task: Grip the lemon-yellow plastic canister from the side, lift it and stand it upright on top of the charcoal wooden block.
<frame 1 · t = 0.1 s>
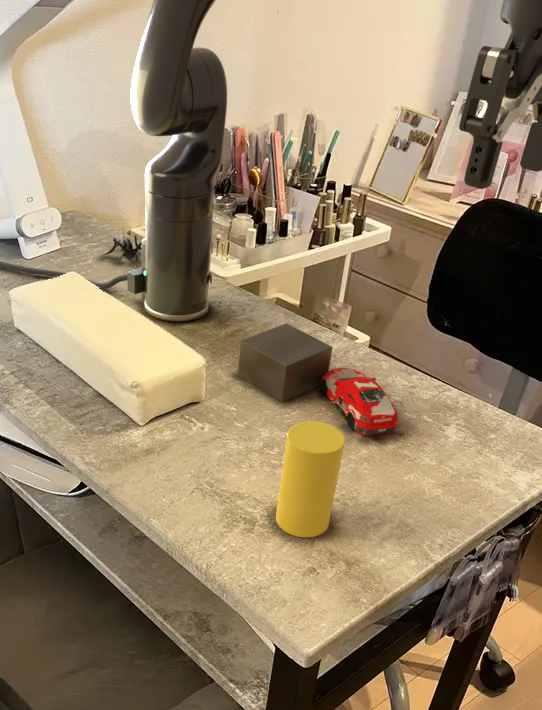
hand: (504, 177, 67), 29 cm above the table, tool pointing down, fingers open, 8 cm apart
block: (282, 379, 97), on the table
creature: (125, 259, 128), on the table
race car: (356, 411, 92), on the table
canister: (302, 520, 76), on the table
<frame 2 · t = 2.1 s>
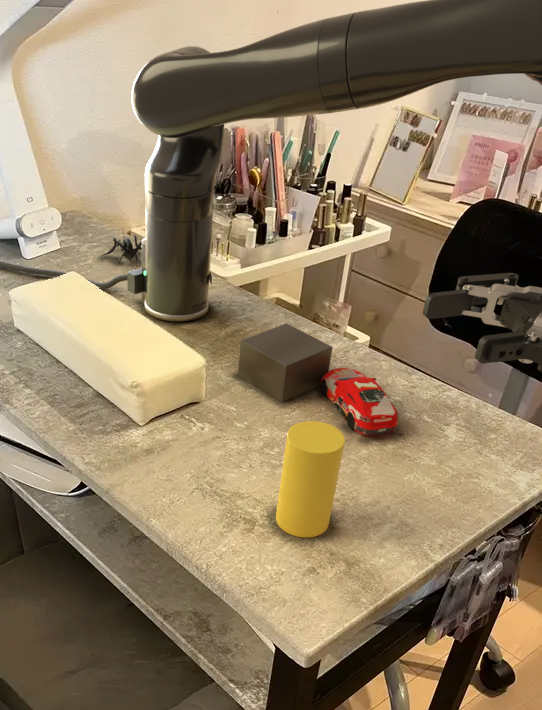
hand: (451, 327, 66), 20 cm above the table, tool horizontal, fingers open, 8 cm apart
nothing on the table moved.
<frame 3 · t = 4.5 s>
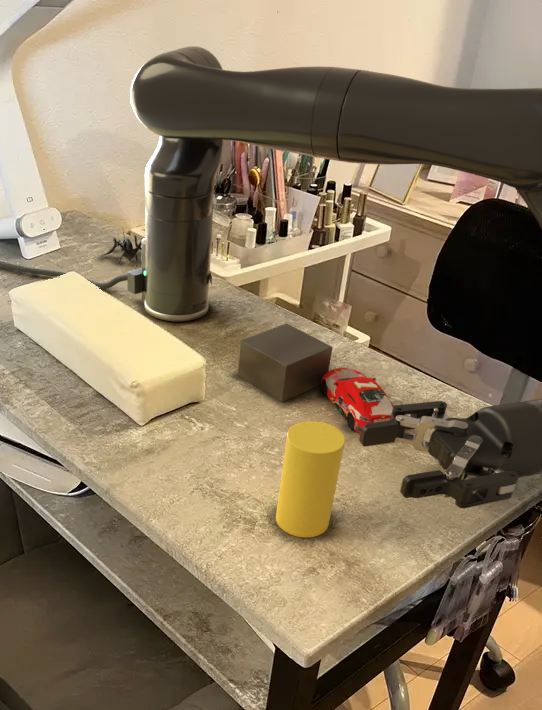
hand: (381, 460, 74), 6 cm above the table, tool horizontal, fingers open, 8 cm apart
nothing on the table moved.
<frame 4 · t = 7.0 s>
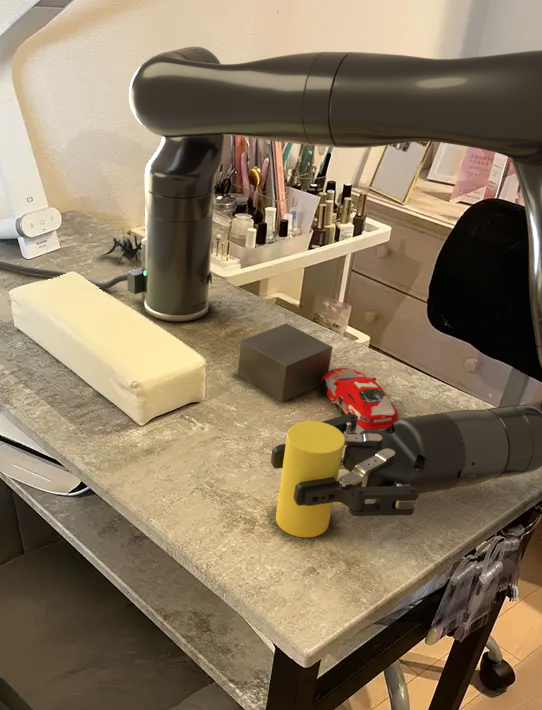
hand: (284, 475, 72), 6 cm above the table, tool horizontal, fingers closed on canister, 5 cm apart
canister: (302, 520, 76), on the table, touching gripper
everything else where it was.
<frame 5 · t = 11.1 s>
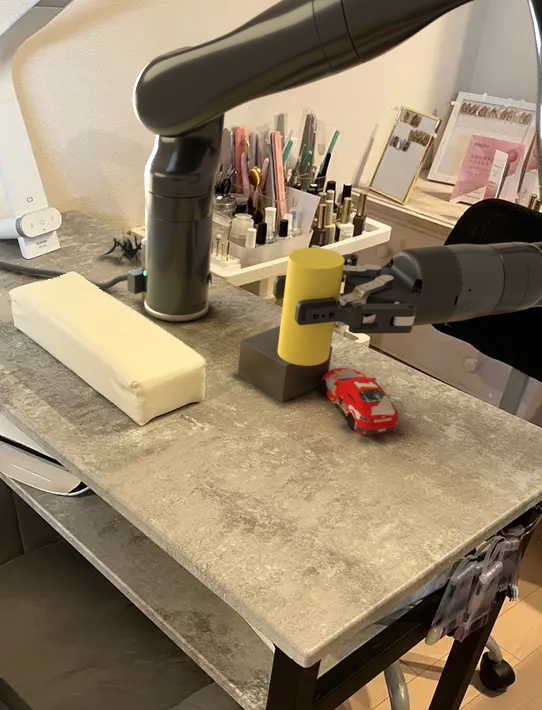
hand: (286, 300, 74), 18 cm above the table, tool horizontal, fingers closed on canister, 5 cm apart
canister: (303, 353, 78), point 12 cm above the table, touching gripper
everything else where it was.
when the fingers open (11 cm above the table, at t = 15.5 s): canister stays where it is, resting on block.
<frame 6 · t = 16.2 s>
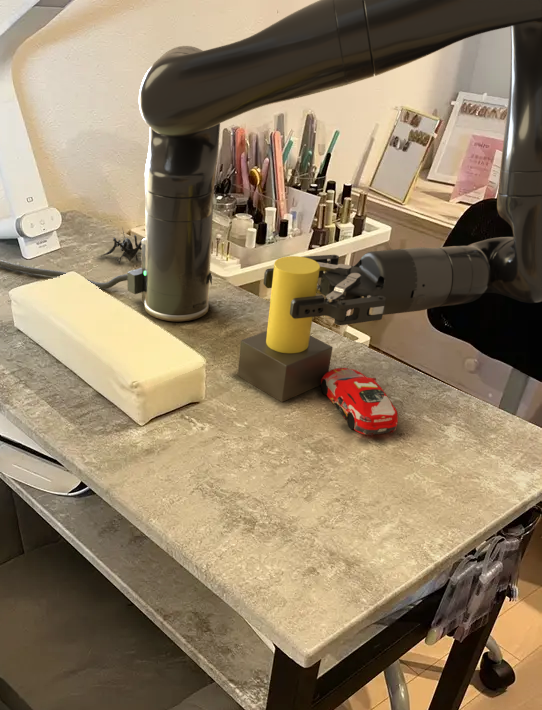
hand: (277, 293, 90), 12 cm above the table, tool horizontal, fingers open, 8 cm apart
canister: (287, 343, 94), point 5 cm above the table, touching block
everything else where it was.
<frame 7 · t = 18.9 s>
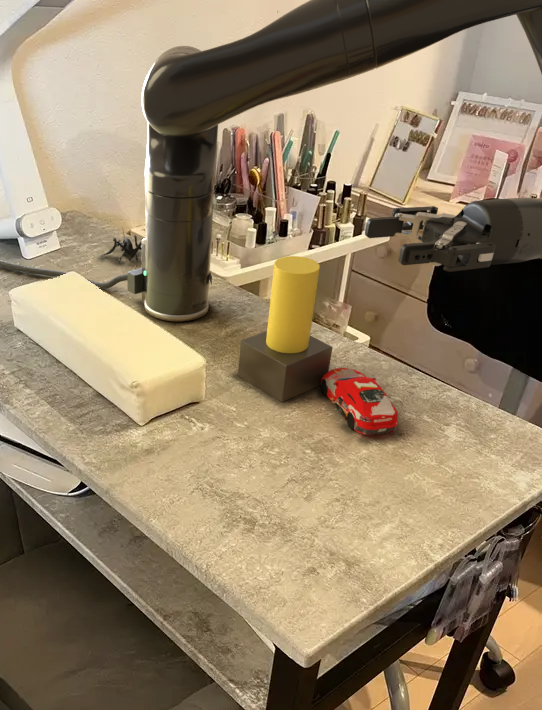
hand: (383, 241, 90), 17 cm above the table, tool horizontal, fingers open, 8 cm apart
nothing on the table moved.
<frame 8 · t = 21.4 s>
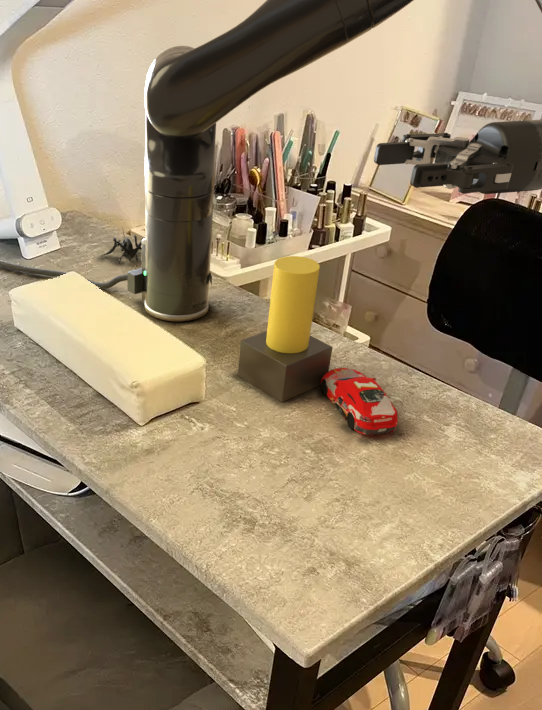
hand: (394, 165, 85), 25 cm above the table, tool horizontal, fingers open, 8 cm apart
nothing on the table moved.
at the end: canister inside the target area on the block (0.1 cm from its centre), point 5.0 cm above the block's base; canister tilted 0°; the gripper is holding nothing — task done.
